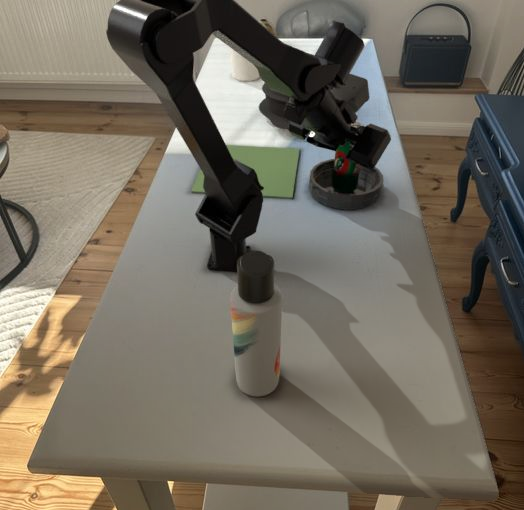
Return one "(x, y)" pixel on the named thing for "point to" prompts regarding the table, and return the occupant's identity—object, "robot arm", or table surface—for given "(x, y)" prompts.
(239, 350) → the lotion bottle
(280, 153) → the napkin
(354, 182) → the soda can
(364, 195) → the pan
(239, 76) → the mug
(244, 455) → the table surface
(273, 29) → the ceramic sculpture
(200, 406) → the table surface
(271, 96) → the casserole
